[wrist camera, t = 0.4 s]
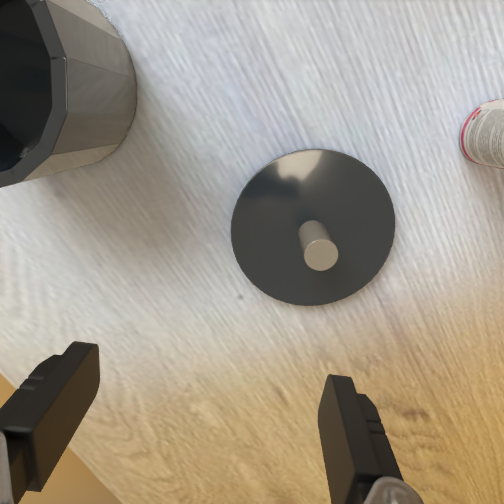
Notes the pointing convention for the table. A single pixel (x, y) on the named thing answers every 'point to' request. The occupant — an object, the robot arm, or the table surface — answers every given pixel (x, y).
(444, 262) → the table surface
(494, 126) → the pill bottle
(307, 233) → the pot lid
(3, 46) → the pot
